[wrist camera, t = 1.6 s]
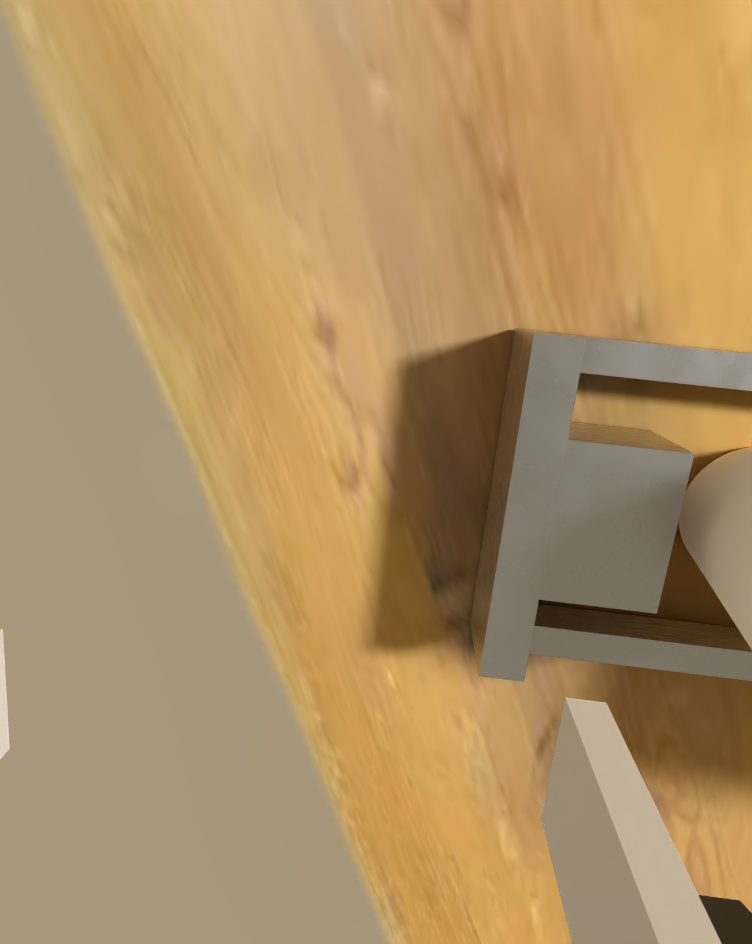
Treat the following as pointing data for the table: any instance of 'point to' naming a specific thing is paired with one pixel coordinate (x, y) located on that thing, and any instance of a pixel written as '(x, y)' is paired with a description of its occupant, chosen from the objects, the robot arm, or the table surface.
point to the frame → (591, 517)
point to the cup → (723, 532)
